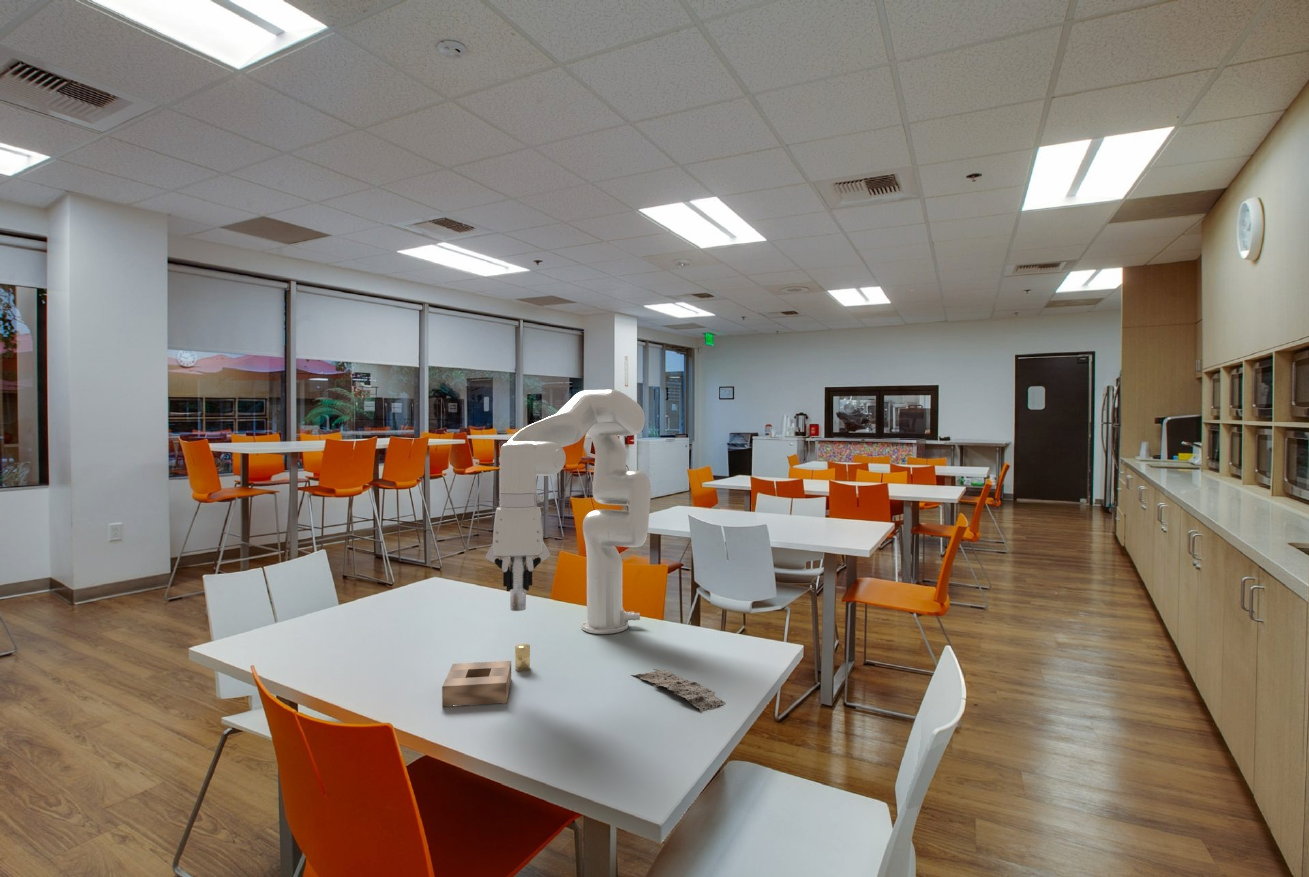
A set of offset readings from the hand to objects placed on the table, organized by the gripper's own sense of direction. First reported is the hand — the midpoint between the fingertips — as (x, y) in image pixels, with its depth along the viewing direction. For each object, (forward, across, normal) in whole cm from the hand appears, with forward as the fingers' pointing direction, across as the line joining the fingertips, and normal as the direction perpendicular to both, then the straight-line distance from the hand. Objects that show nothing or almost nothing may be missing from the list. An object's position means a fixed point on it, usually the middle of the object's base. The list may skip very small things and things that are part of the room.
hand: (517, 588), depth 134 cm
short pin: (+20, -1, -9) cm, 22 cm away
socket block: (+20, +8, +3) cm, 22 cm away
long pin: (+4, 0, 0) cm, 4 cm away
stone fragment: (+21, -32, +7) cm, 38 cm away
